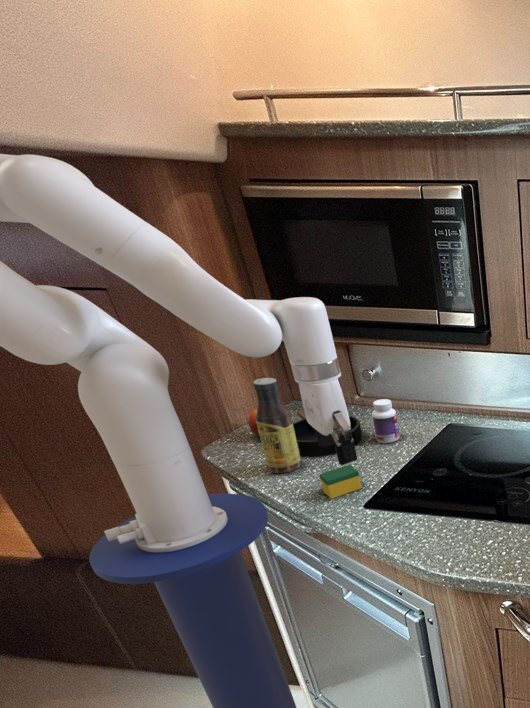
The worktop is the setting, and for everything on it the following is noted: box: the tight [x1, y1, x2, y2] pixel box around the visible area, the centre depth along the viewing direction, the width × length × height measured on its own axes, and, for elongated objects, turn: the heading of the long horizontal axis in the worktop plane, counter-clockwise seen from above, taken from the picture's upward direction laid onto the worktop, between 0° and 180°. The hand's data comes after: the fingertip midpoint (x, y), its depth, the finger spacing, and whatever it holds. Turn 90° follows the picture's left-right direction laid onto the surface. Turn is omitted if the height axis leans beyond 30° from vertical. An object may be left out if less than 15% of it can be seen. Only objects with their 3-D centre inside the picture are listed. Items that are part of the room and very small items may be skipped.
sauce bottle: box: [252, 377, 302, 474], centre depth 103 cm, size 6×6×20 cm
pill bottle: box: [371, 398, 401, 444], centre depth 120 cm, size 5×5×10 cm
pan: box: [293, 409, 363, 458], centre depth 121 cm, size 16×22×4 cm
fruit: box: [248, 409, 260, 438], centre depth 120 cm, size 8×8×8 cm
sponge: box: [318, 464, 363, 500], centre depth 100 cm, size 6×4×4 cm, turn 136°
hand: (338, 453), depth 97 cm, fingers open, 9 cm apart
